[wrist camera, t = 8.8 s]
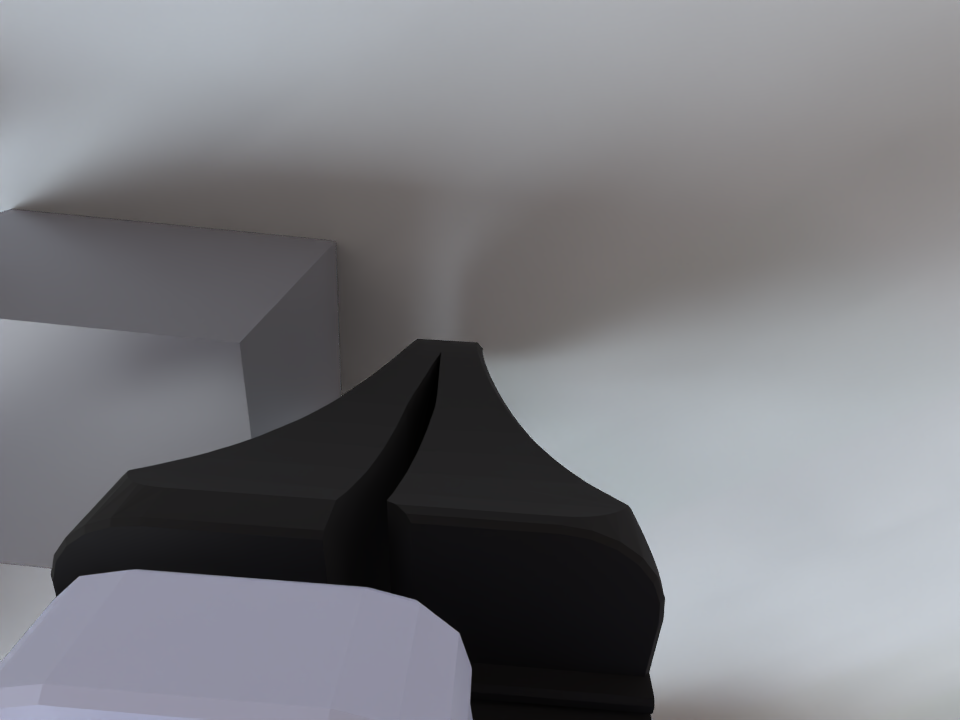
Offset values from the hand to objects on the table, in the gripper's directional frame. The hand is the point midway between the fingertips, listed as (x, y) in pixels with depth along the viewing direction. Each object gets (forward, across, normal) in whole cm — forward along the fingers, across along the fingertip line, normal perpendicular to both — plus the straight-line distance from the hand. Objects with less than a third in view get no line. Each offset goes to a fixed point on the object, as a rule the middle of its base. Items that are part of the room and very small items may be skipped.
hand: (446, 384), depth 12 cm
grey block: (+2, +6, 0) cm, 6 cm away
